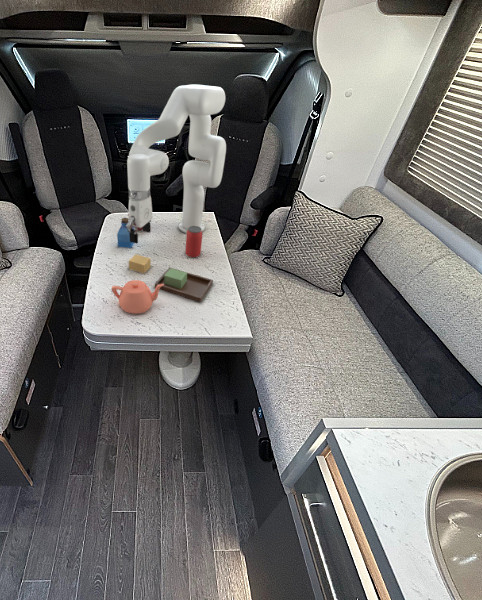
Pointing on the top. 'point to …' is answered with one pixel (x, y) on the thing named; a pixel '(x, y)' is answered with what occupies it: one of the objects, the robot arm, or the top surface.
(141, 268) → the yellow rectangular block
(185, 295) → the brown tray
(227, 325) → the top surface
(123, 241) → the perfume bottle
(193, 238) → the beer can
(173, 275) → the green block
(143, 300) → the teapot
